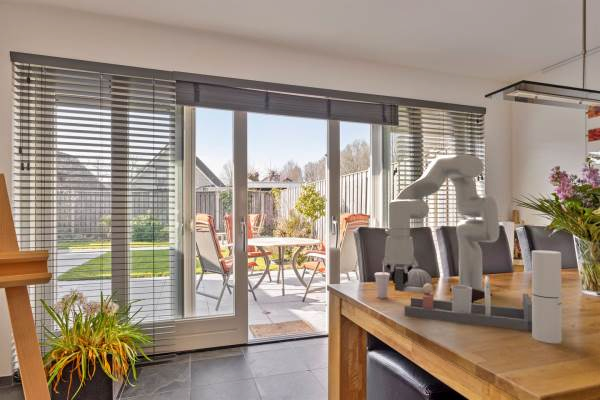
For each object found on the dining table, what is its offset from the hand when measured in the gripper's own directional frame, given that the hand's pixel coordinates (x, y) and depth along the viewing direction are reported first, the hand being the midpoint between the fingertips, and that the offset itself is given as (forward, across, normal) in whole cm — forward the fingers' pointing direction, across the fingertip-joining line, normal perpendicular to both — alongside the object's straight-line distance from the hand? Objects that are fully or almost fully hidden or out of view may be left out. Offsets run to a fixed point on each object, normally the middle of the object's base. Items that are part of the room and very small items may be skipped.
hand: (399, 282), depth 139 cm
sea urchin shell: (+10, 0, +43) cm, 44 cm away
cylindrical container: (+10, +44, -13) cm, 47 cm away
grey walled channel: (+10, +23, 0) cm, 25 cm away
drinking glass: (+10, +21, 0) cm, 23 cm away
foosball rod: (+9, +5, 0) cm, 11 cm away
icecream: (+10, +23, +20) cm, 32 cm away
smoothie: (+10, -10, +15) cm, 21 cm away
